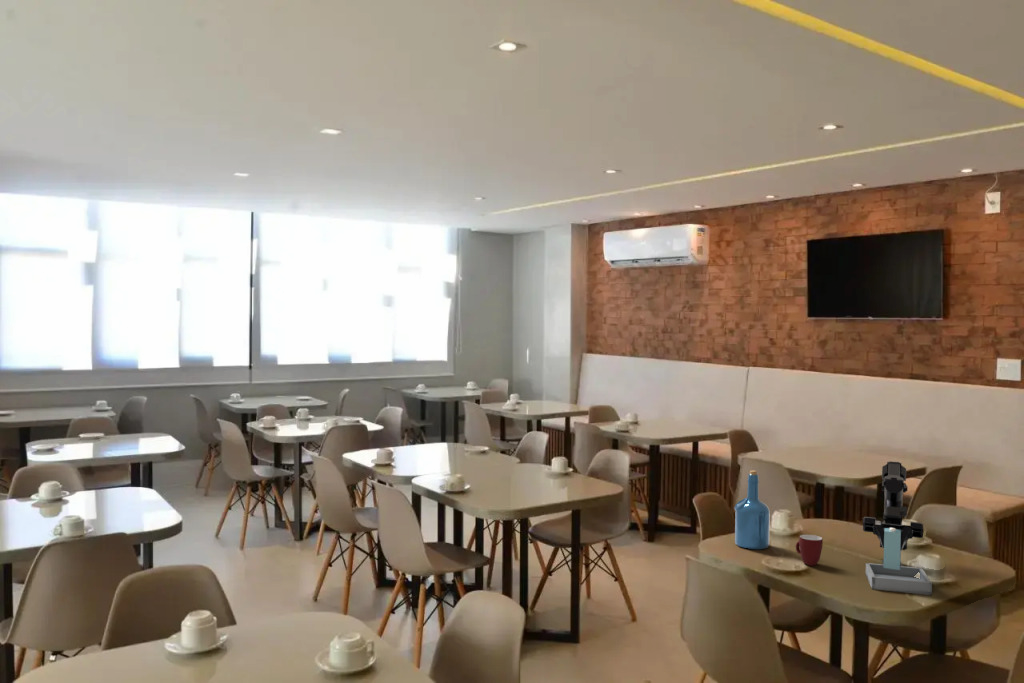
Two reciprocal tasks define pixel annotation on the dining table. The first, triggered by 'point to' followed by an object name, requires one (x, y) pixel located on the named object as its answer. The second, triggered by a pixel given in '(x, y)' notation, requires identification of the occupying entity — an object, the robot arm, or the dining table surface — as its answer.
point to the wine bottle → (752, 518)
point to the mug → (810, 548)
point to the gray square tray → (898, 579)
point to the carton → (892, 548)
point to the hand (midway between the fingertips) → (892, 548)
